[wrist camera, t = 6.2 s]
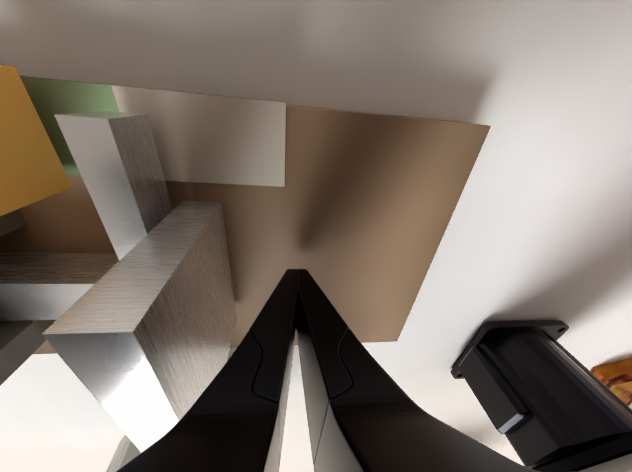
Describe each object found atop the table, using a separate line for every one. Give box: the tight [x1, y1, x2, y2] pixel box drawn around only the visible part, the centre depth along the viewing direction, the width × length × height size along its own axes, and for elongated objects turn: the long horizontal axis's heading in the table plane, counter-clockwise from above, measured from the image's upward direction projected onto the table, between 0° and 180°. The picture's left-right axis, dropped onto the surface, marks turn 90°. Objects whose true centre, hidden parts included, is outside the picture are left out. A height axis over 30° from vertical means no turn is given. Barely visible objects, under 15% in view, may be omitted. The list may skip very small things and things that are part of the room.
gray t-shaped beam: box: [0, 111, 237, 452], centre depth 6 cm, size 8×8×5 cm
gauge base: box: [0, 76, 491, 385], centre depth 8 cm, size 22×12×6 cm, turn 85°
